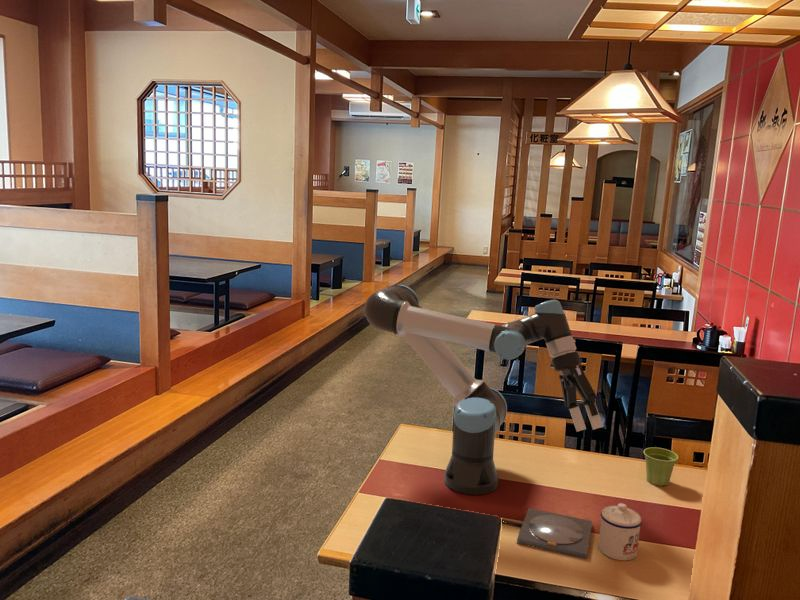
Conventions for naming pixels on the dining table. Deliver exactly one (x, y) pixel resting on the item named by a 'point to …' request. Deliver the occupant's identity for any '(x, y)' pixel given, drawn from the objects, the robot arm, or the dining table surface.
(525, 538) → the cup warmer plate
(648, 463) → the plant pot
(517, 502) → the dining table surface
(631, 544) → the teacup with lid
